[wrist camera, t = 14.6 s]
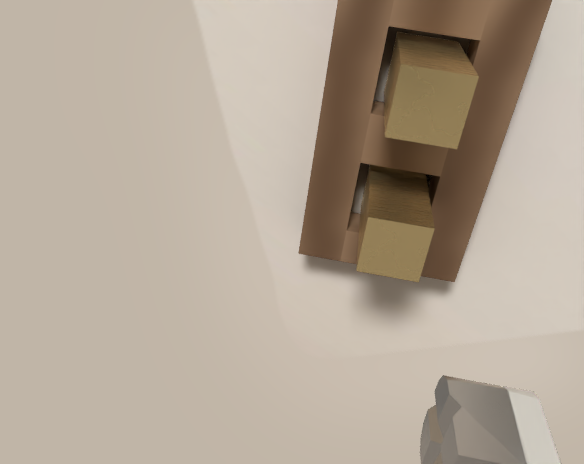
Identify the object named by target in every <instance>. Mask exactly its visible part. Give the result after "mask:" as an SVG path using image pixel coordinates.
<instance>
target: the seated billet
mask: <svg viewBox="0 0 584 464" xmlns="http://www.w3.org/2000/svg"><path fill="white" fill-rule="evenodd" d="M478 78H479V76H478V74H477V73H476V71H475V69H474V67H473V66H472V64H471V62H470V61H469V59H468V57H467V56H466V54H465V52H464V51H463V49H462V47H461V45H460V44H459V42H458V41H453V40H447V39H440V38H434V37H428V36H421V35H415V34H409V33H402V32H397V34H396V39H395V43H394V48H393V53H392V57H391V62H390V67H389V71H388V76H387V81H386V85H385V90H384V121H385V137H387V138H393V139H399V140H405V141H411V142H417V143H423V144H429V145H435V146H441V147H446V148H452V149H457V148H458V144H459V141H460V138H461V135H462V131H463V128H464V125H465V121H466V118H467V115H468V111H469V108H470V105H471V101H472V98H473V95H474V91H475V88H476V85H477V82H478Z"/></svg>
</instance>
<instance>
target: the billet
mask: <svg viewBox="0 0 584 464" xmlns="http://www.w3.org/2000/svg"><path fill="white" fill-rule="evenodd" d="M434 229H435V227H434V221H433V215H432V209H431V203H430V197H429V191H428V185H427V179H426V174H423V173H417V172H411V171H406V170H400V169H394V168H388V167H382V166H377V165H371V164H370V166H369V170H368V175H367V180H366V185H365V189H364V194H363V199H362V203H361V212H360V226H359V240H358V253H357V267H356V271H359V272H365V273H370V274H376V275H381V276H387V277H392V278H398V279H403V280H409V281H414V282H419V279H420V276H421V273H422V269H423V266H424V263H425V259H426V256H427V253H428V249H429V246H430V243H431V239H432V236H433V233H434Z"/></svg>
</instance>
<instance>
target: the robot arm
mask: <svg viewBox="0 0 584 464" xmlns="http://www.w3.org/2000/svg"><path fill="white" fill-rule="evenodd" d="M435 398H436V405H435V406H433V407H431V408H430V409H428V411H427V414H426V417H425V420H424V423H423V429H422V434H421V446H420V456H421V464H561V461H560V459H559V456H558V452H557V449H556V447H555V444H554V441H553V438H552V435H551V432H550V429H549V426H548V423H547V420H546V417H545V414H544V411H543V408H542V405H541V402H540V399H539V397H538V396H537V394H536V393H535V392H533V391H527V390H522V389H516V388H510V387H504V386H503V387H501V386H497V385H492V384H487V383H481V382H476V381H470V380H465V379H460V378H454V377H449V376H444V375H443V376H442V377H441V379H440V380H439V382H438V384H437V387H436V389H435Z"/></svg>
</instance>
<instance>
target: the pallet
mask: <svg viewBox="0 0 584 464" xmlns="http://www.w3.org/2000/svg"><path fill="white" fill-rule="evenodd" d="M551 2H552V0H338V4H337V10H336V17H335V23H334V29H333V36H332V42H331V49H330V55H329V61H328V68H327V74H326V81H325V87H324V94H323V100H322V106H321V113H320V119H319V126H318V132H317V138H316V145H315V151H314V158H313V164H312V170H311V177H310V183H309V190H308V196H307V202H306V209H305V215H304V222H303V228H302V234H301V241H300V247H299V254H304V255H310V256H315V257H321V258H326V259H331V260H337V261H342V262H348V263H353V264H357V253H358V240H359V226H360V214H359V213H353V212H350V211H351V206H352V202H353V197H354V192H355V187H356V182H357V177H358V172H359V168H360V163H365V164H371V165H377V166H382V167H388V168H394V169H400V170H406V171H411V172H417V173H423V174H429V175H432V178H431V181H430V185H429V188H428V191H429V197H430V203H431V209H432V215H433V221H434V227H435V229H434V233H433V236H432V239H431V243H430V246H429V249H428V253H427V256H426V259H425V263H424V266H423V269H422V273H421V276H424V277H429V278H435V279H440V280H446V281H451V282H455V279H456V276H457V273H458V271H459V268H460V265H461V262H462V259H463V256H464V253H465V250H466V247H467V245H468V242H469V239H470V236H471V233H472V230H473V227H474V224H475V222H476V219H477V216H478V213H479V210H480V207H481V204H482V201H483V198H484V196H485V193H486V190H487V187H488V184H489V181H490V178H491V175H492V172H493V170H494V167H495V164H496V161H497V158H498V155H499V152H500V149H501V146H502V144H503V141H504V138H505V135H506V132H507V129H508V126H509V123H510V120H511V118H512V115H513V112H514V109H515V106H516V103H517V100H518V97H519V95H520V92H521V89H522V86H523V83H524V80H525V77H526V74H527V71H528V69H529V66H530V63H531V60H532V57H533V54H534V51H535V48H536V45H537V43H538V40H539V37H540V34H541V31H542V28H543V25H544V22H545V19H546V17H547V14H548V11H549V8H550V5H551ZM389 26H391V27H397V28H404V29H410V30H416V31H423V32H429V33H435V34H442V35H448V36H454V37H461V38H467V39H471V40H470V44H469V47H468V51H467V54H466V56H467V57H468V59H469V61H470V62H471V64H472V66H473V67H474V69H475V71H476V73H477V74H478V76H479V78H478V82H477V85H476V88H475V91H474V95H473V98H472V101H471V105H470V108H469V111H468V115H467V118H466V121H465V125H464V128H463V131H462V135H461V138H460V141H459V144H458V148H457V149H452V148H446V147H441V146H435V145H429V144H423V143H417V142H411V141H405V140H399V139H393V138H387V137H385V121H384V102H378V101H373V100H374V95H375V90H376V85H377V80H378V75H379V70H380V66H381V61H382V56H383V51H384V46H385V41H386V36H387V32H388V27H389Z"/></svg>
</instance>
